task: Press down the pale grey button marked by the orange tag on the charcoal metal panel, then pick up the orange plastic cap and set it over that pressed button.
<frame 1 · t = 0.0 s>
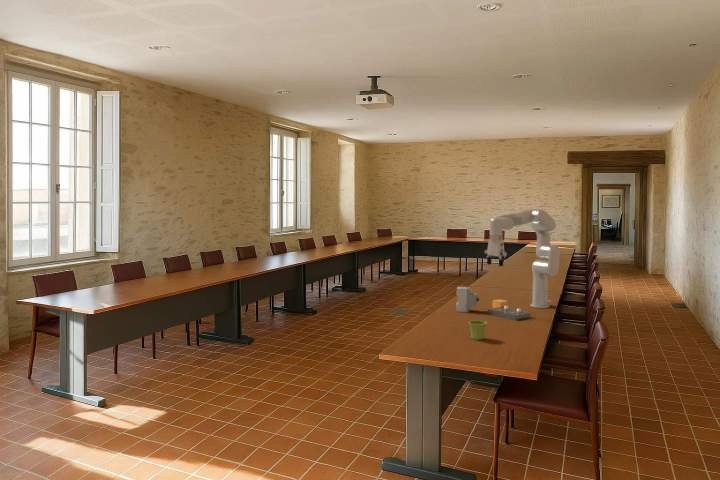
hand: (495, 265, 343), 31 cm above the table, tool pointing down, fingers open, 9 cm apart
tagged button: (506, 308, 346), point 3 cm above the table, slide at 0.0 cm
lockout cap: (499, 308, 362), on the table
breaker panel: (508, 315, 342), on the table
plant pot: (477, 338, 287), on the table
plain button: (518, 311, 337), point 3 cm above the table, slide at 0.0 cm
circuit breaker: (467, 311, 355), on the table
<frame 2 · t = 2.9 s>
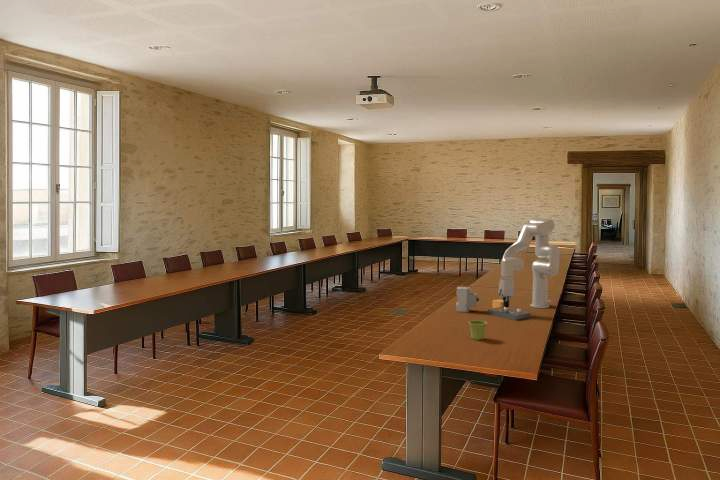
hand: (506, 306, 345), 5 cm above the table, tool pointing down, fingers closed
tagged button: (506, 309, 346), point 3 cm above the table, slide at 0.4 cm, touching gripper
everything else where it was.
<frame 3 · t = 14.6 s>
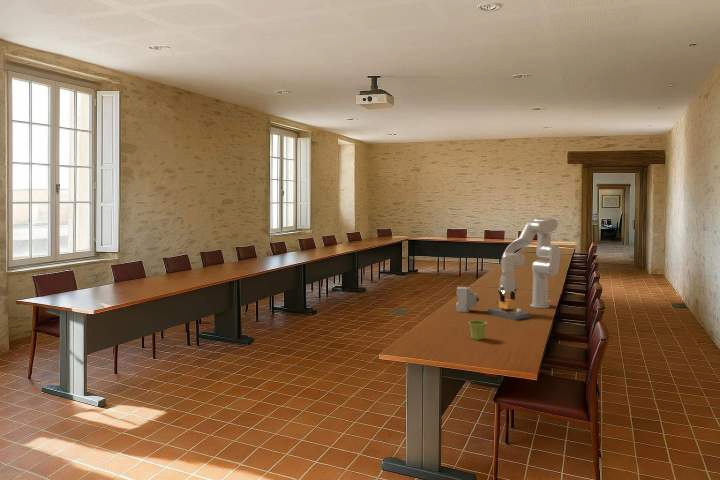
hand: (507, 300, 348), 8 cm above the table, tool pointing down, fingers open, 9 cm apart
tagged button: (506, 310, 346), point 2 cm above the table, slide at 1.3 cm
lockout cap: (506, 308, 347), point 4 cm above the table, tilted 8°, touching gripper
everything else where it was.
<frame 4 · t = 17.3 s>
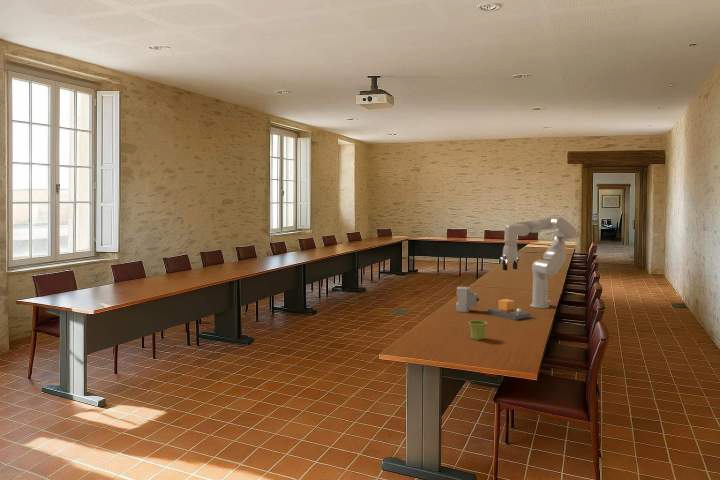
hand: (509, 269, 358), 26 cm above the table, tool pointing down, fingers open, 9 cm apart
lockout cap: (506, 308, 347), point 3 cm above the table, touching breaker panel
everything else where it was.
at the end: tagged button slide at 1.3 cm; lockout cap 1.3 cm from the target spot on the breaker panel, point 3.0 cm above the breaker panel's base; plain button slide at 0.0 cm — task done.
